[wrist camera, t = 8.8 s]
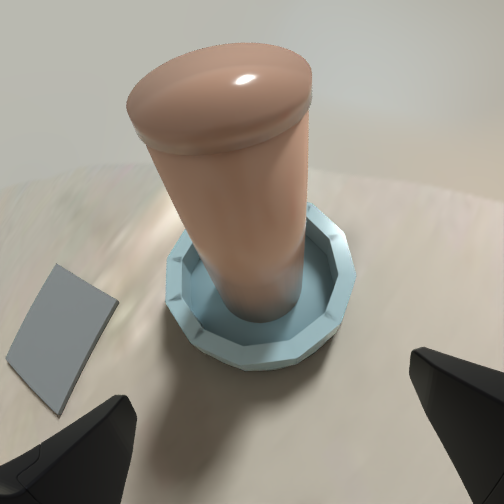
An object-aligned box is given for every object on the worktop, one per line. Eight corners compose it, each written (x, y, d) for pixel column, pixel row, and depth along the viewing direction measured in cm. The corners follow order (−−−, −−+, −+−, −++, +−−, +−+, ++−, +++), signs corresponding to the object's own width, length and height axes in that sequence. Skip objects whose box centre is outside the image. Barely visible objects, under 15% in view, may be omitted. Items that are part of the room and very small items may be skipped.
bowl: (309, 397, 16) (313, 394, 14) (152, 328, 20) (134, 313, 17) (363, 245, 21) (371, 221, 19) (225, 203, 24) (218, 178, 22)
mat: (60, 415, 17) (57, 414, 16) (8, 359, 19) (5, 358, 19) (119, 301, 21) (116, 299, 21) (59, 265, 23) (56, 263, 23)
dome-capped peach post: (250, 342, 18) (169, 164, 6) (202, 277, 20) (108, 90, 8) (321, 289, 19) (352, 77, 7) (268, 232, 21) (241, 33, 10)
